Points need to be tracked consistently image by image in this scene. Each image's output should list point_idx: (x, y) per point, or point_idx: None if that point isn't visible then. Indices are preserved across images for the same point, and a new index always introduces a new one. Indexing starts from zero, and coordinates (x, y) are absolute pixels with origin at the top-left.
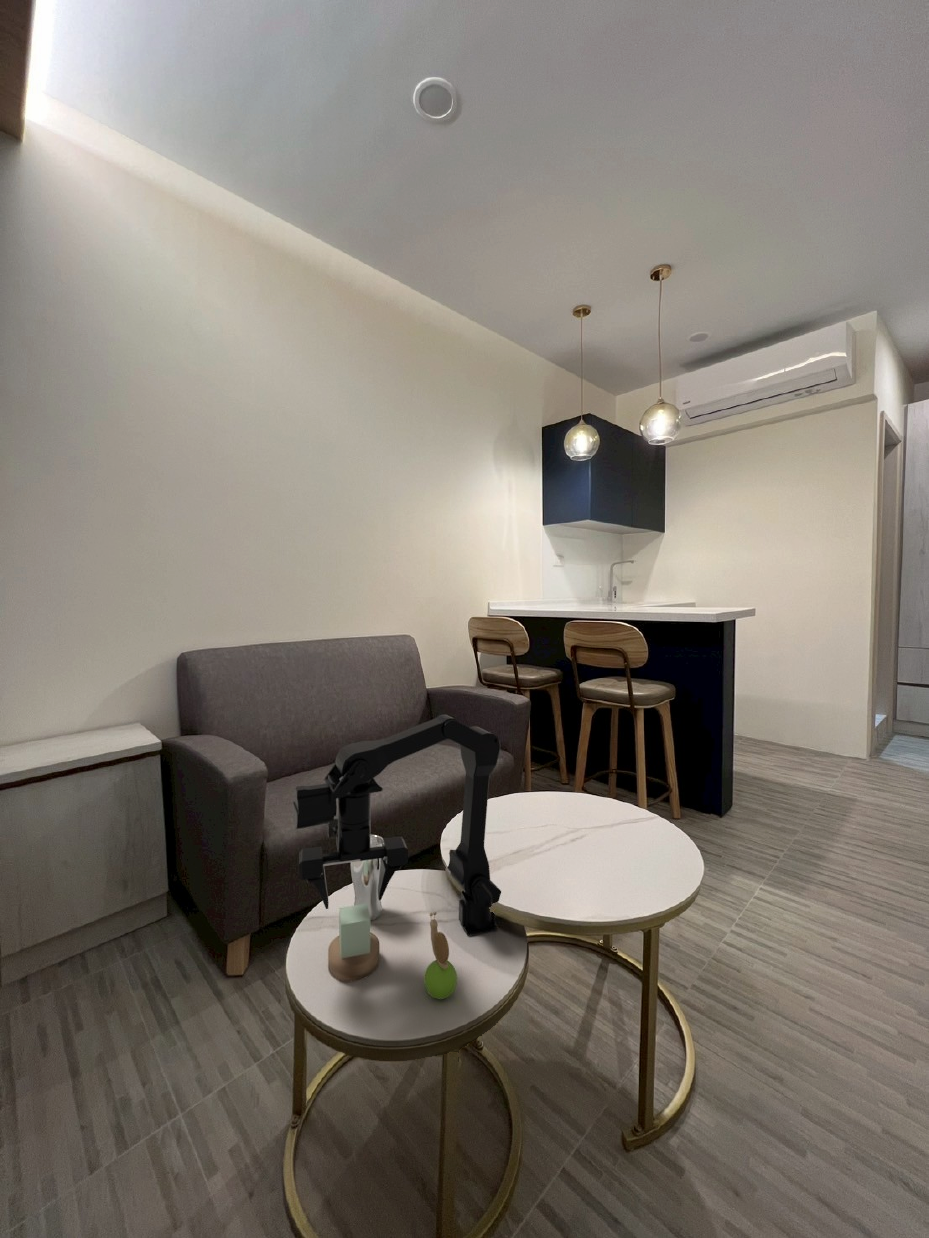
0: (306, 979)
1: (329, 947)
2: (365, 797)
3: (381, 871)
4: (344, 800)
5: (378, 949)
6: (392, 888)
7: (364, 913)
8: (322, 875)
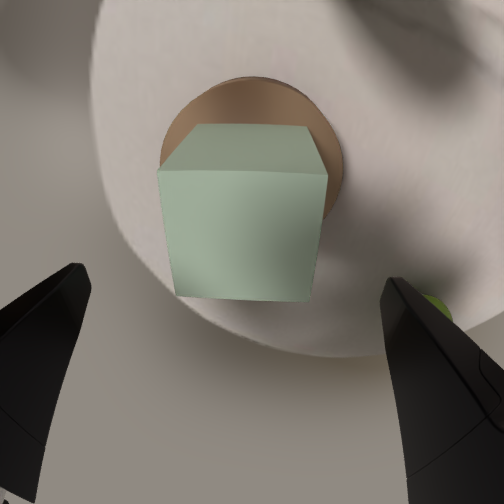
0: (123, 181)
1: (163, 155)
2: None
3: (447, 455)
4: None
5: (329, 209)
6: None
7: (293, 255)
8: (6, 490)
